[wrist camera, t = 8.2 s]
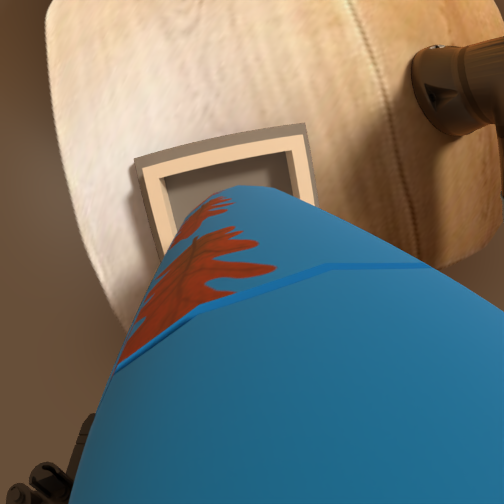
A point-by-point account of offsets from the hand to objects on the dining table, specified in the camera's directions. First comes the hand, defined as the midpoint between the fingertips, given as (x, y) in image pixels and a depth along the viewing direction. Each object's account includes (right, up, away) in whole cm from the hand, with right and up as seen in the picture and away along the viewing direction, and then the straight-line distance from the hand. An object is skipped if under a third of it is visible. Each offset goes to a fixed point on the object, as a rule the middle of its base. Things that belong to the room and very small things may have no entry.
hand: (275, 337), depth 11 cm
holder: (-3, +7, +23) cm, 25 cm away
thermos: (-1, +3, +11) cm, 11 cm away
